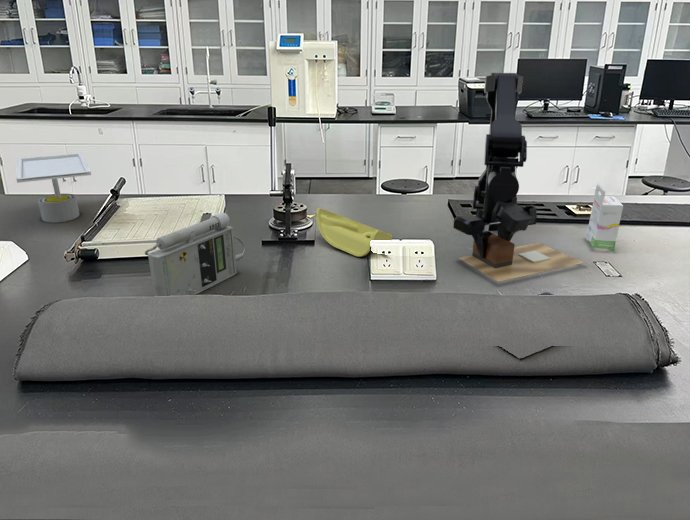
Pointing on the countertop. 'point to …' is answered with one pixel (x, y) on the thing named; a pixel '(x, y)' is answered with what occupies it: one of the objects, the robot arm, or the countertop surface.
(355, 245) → the plastic component
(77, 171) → the solar panel model
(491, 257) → the brown boxy piece
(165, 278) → the geiger counter
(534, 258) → the chalk patch
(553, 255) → the board
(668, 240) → the countertop surface
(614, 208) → the ink box
